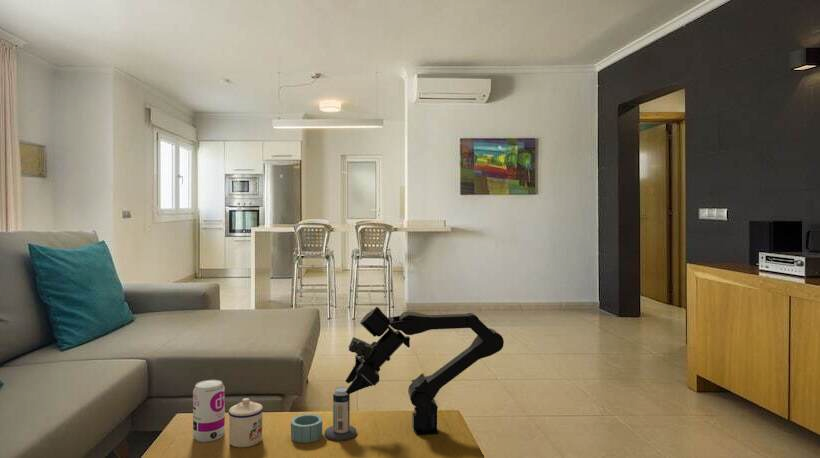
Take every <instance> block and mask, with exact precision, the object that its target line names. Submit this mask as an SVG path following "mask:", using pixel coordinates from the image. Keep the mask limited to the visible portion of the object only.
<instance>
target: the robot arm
mask: <svg viewBox="0 0 820 458" xmlns="http://www.w3.org/2000/svg"><path fill="white" fill-rule="evenodd" d="M359 324H360V325H361V326H362V327H363V328H364V329H365V330H366V331H368V333H369V334H371V335H372V336H373V338H375V337H380V338H379V339H378V340H377V341H373V342H371V343H368V342H366V341H364V340H362V339H360V338H357V337H351V338H352V339H351V340H350V343H349V346H348V351H349V352H351V353H355V354H356V355H355V356H354V357H355V364H354V366H353V367H352V370H351V371H350V372H349V374H348V376H347V377H346V379H345V382H346V383H347V384H349V383H350V385H349V386H348V387H347V388H348V389H347V390H346V393H347V394H350V395H351V394H353V393H356V392H358V391H360V390H363V389H367V388H369V387H373V386H376V385H377V384H378V383H379V382H380V373H379V372H380V371H381V367H382V366H383V365H384V364H385V363H386V361H387V362H389V361H391V357H392V356H393V355H394V353H395V352H396V351H397V350H398V349H399V348H400V347H401V346H402V345H403V344H404V346H405V347H407V348H410V347H411V345H410V340H411V337H410V336H413V335H418V334H422V333H425V332H427V331H431V330H450V329H451V330H452V329H453V330H455V329H456V330H457V329H471V330H472V331H473V332H474V333H475V334H476V337H475V338H474V340H473V341H472V342H471V344H470V345H469V347H467V348H466V349H464V350H463V351H462V352H461V353H459V354H458V355H457V356H455V357H453V359H451V360H449V361H448V362H447V363H446V364H444V365H443V366H442V367H440V368H439V369H438V370H436V371H435V372H433V374H431V375H427V376H425V374H424V373H422V372H421V374H419V376H417V377H416V378H415V379H412V380H411V383H410V384H409V386H408V391H407V393H408V397H409V399H410V403H411V404H412V405H413V407H414V408H413V412H412V414H411V415H412V416H411V421H412V422H411V423H412V424H411V428H412V429H413V430H414V433H415V434H416V435H418V436H419V435H429V434H430V435H431V434H432V435H434V434H439V433H440V432H439V429H438V409H439V406H438V404H437V402H436V400H435V398H436V396H437V394H438V393H439V392H440V390H441V389H442V388H443V387H444V386H446V385H447V384H448V383H449V382H451V381H452V380H454V379H455V378H456V377H458V376H460V374H461V373H463V372H464V371H466V370H467V369H468V368H470V367H471V366H472V365H474V364H475V363H477V361H479V360H481V359H483V358H484V359H485V358H487V357H491V356H493V355H494V354H497V353H499V352H501V350H503V348H504V344H505V343H504V342H505V341H504V337H503V336H502V335H501V334H500V333H499V332H497V331H496V330H495V329H493V328H490V327H488V326H487V325H486V324H484V323H483V321H481V320H480V318H479V316H477V315H476V314H474V312H468V313H467V312H466V313H450V314H449V313H446V314H445V313H444V314H426V313H421V312H415V311H409V310H408V311H403V312H402V313H401V314H400V315H397V316H390V317H388V316H387V315H386V314H385V313H384V312H382V310H381V308H379V307H378V306H376V307H375V308H374V309H372V310H370V311H369V312H367V313H366V314H365V316H364V317H363V318H362V319H361V320H360V322H359ZM405 335H407V336H405Z"/></svg>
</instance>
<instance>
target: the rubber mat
mask: <svg viewBox="0 0 820 458" xmlns="http://www.w3.org/2000/svg"><path fill="white" fill-rule="evenodd" d="M356 436H357V428H355V426H353V425H350V430H349V431H348V432H346V433H343V434H338V433H336V432H334V431H333V425H331V426H328V428H326V429H325V430H324V437H325V439H327V440H330V441H332V442H333V441H335V442H344V441H348V440H351V439H353V438H355V437H356Z"/></svg>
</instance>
